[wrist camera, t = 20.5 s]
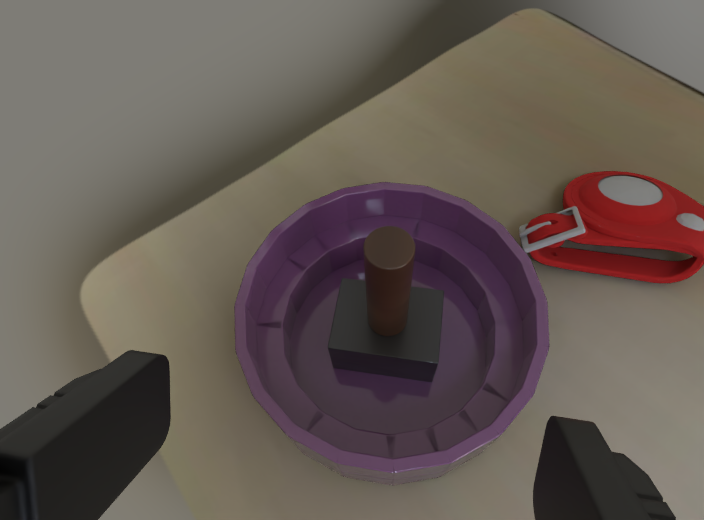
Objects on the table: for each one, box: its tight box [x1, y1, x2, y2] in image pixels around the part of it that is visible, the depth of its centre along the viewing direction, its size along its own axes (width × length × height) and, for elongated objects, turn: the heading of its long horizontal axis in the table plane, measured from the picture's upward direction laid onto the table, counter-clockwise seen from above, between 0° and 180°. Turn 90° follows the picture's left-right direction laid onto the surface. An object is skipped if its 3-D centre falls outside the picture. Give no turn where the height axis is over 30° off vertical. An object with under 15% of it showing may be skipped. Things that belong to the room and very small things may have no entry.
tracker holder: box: [519, 171, 704, 283], centre depth 31 cm, size 12×4×10 cm
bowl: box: [234, 182, 549, 485], centre depth 27 cm, size 16×16×6 cm
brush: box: [328, 226, 444, 382], centre depth 25 cm, size 6×4×11 cm
